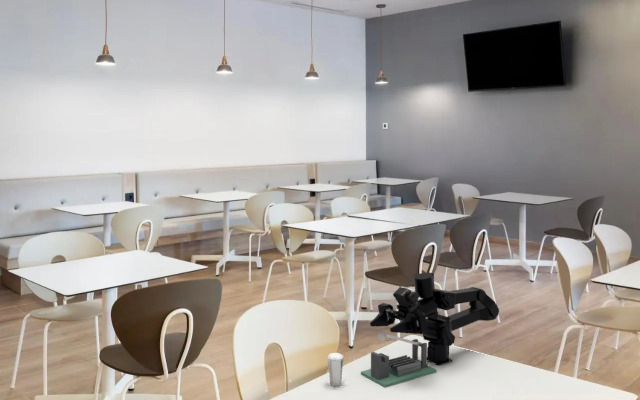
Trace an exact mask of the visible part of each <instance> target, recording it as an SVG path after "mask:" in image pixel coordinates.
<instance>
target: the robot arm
mask: <svg viewBox="0 0 640 400" xmlns="http://www.w3.org/2000/svg"><path fill="white" fill-rule="evenodd" d="M412 277H413V285H414V291H412V290H411V289H409V288H407V287H403V286H402V287H399V288H397V289H396V290H395V291H394V292H393V293H392V296H393V297H394V298H395V300H396V303H397V304H396V305H395V306H396V309H394V306H393V305H392V304H390V303H385V302H382V303H380V304H378V305H377V308H378V314H377V315H376V316H375V317H374V318H373V319H372V320H371V322H370V323H369V325H370V327H389V326H391V327H390V328H389V331H390V333H398V334H399V333H401V334H413V335H422V337H423V340H424V341H428V342H427V362H430V363H432V364H434V365H437V366H441V365H444V364H448V363H451V362H453V360H454V359H453V358H450V347H451V346H452V345H454V343H455V340H456V336H455V335H454V334H453V331H455V330H459V329H461V328H463V327H465V326H468V325H471V324H473V323H476V322H478V321H485V322H488V321H494V320H496V319H497V318H498V316H499V314H500V309H499V307H498V305H497V303H496V302H495V300H494V299H493V298H491V297H490V296H489V295H488V294H487V292H486V291H485V289H482V288H479V287H474V286H471V287H468V288H467V287H466V288H461V289H456V290H445V289H439V288H435V287H436V286H435V273H433V272H423V273H416V274H414V275H413V276H412ZM419 298H420V299H419ZM464 303H465V304H466V303H468V305H469V306H470V307H469V308H466V309H464V310H461V311H458V312H456V313H453V314H451V315H448V316H446V315H443V314H439V311H438V309H439V310H443V311H450V310H451V309H454V308H455V307H456V305H458V304H459V305H460V304H464ZM396 320H398V321H399V322H398V323H396V324H394V323H395V321H396ZM392 325H393V326H392Z"/></svg>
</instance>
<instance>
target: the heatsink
mask: <svg viewBox="0 0 640 400" xmlns="http://www.w3.org/2000/svg"><path fill="white" fill-rule="evenodd" d="M410 358H411V359H410ZM418 371H421V365H420V361H418V362H417V360H414V358H412V357H411V356H408V355H407V354H405V355H402V356H398V357H395V358H389V373H390V374H392V375H394V376H396V377H401V376H405V375H408V374H411V373H415V372H418Z"/></svg>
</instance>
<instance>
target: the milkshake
mask: <svg viewBox="0 0 640 400" xmlns="http://www.w3.org/2000/svg"><path fill="white" fill-rule="evenodd" d="M327 363H328V373H329V376H328V377H329V384H330V386H332V387H340V386H341V385H342V383H343V382H342V379H343V367H344V355H343V354H341V353H339V352H331V353H329V354H328V355H327Z"/></svg>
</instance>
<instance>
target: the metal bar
mask: <svg viewBox="0 0 640 400" xmlns="http://www.w3.org/2000/svg"><path fill="white" fill-rule="evenodd" d="M377 336H378V337H377V340H380V341H381V342H385V339H386V338H388V339H393V340H397V341H401V342H403V343H408V344H411V345H412V344H415V345H418V347H420V348H421V344H422V343H423V342H420V341H419V340H418V341H416V342H415V341H412V340H410V339H408V338H407V339H406V338H403V337H399V336H395V335H392V334H387V333H385V332H381V331H380V332H378V335H377Z"/></svg>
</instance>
